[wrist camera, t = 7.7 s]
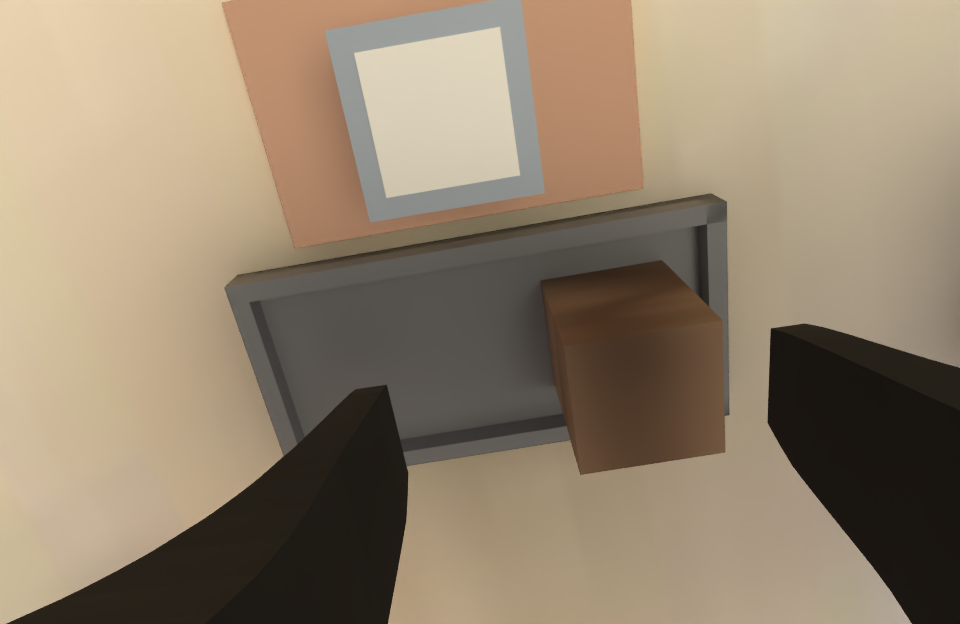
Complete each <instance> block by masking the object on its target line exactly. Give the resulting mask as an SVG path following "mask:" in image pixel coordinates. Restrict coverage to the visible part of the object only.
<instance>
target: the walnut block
mask: <svg viewBox="0 0 960 624" xmlns="http://www.w3.org/2000/svg"><path fill="white" fill-rule="evenodd" d="M540 281H541V288H542V295H543V303H544V310H545V317H546V324H547V331H548V338H549V346H550V353H551V360H552V367H553V374H554V382H555V387H556V391H557V394H558V398H559V401H560V405H561V408H562V412H563V415H564V419H565V422H566V426H567V429H568V433H569V436H570V440H571V443H572V447H573V450H574V454H575V457H576V461H577V464H578V468H579V471H580V475H582V474H589V473H595V472H601V471H608V470H614V469H621V468H627V467H634V466H640V465H647V464H653V463H660V462H666V461H672V460H679V459H685V458H692V457H698V456H705V455H711V454H718V453H724V452H725V417H724V359H723V320H722V319H721V318H720V317H719V316H718V315H717V314H716V313H715V312H714V311H713V310H712V309H711V308H710V307H709V306H708V305H707V304H706V303H705V302H704V301H703V300H702V299H701V298H700V297H699V296H698V295H697V294H696V293H695V292H694V291H693V290H692V289H691V288H690V287H689V286H688V285H687V284H686V283H685V282H684V281H683V280H682V279H681V278H680V277H679V276H678V275H677V274H676V273H675V272H674V271H673V270H672V269H671V268H670V267H669V266H668V265H667V264H666V263H665V262H664V261H663V260H659V261H653V262H647V263H641V264H635V265H629V266H624V267H618V268H612V269H606V270H600V271H594V272H588V273H582V274H576V275H570V276H564V277H558V278H552V279H546V280H540Z"/></svg>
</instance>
